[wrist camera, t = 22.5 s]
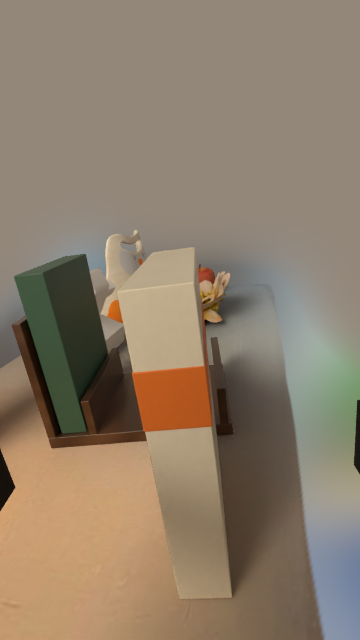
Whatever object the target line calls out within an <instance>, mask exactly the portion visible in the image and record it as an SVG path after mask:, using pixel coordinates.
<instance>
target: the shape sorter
mask: <svg viewBox="0 0 360 640" xmlns="http://www.w3.org/2000/svg"><path fill="white" fill-rule="evenodd" d="M120 243H125V244H133V243H136V247H137V252H136V253H133V252H130V251H128V250H125V249H123V248H121V246H120ZM105 258H106V269H107V271H106V279H107V281H108V280H110V281H111V282H112V283H114V284H115V285H116V288H115V290H114V291H113V293H112V294H111V295H109V296H108V297H106V299H105V302H104V306H103V309H102V312H101V314H102V315H104V316H106V317H109V318H111V319H113V320H115V321H118V322H120V323H122V324H123V320H122V315H121V310H120V305H119V300H118V295H117V291H118V290H119V289H120V288H121V287H122V286H123V285H124V283H125V282H126V281H127V280H128V279H129V278H130V277H131V276H132V275H133V274H134V273H135V271H136V270H137V269H138V268H139V267H140V266H141V265H142V264H143V263H144V262H145V261H146V259H147V258H146V255H145V252H144V249H143V245H142V243H141V240H140V237H139V233H138V231H137V230H135V231H134V235H132V236H125V235H122V234H115V235H112V236H110V237H109V238H108V240H107V243H106V251H105ZM124 331H125V330H124Z"/></svg>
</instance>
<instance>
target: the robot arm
mask: <svg viewBox="0 0 360 640" xmlns="http://www.w3.org/2000/svg"><path fill="white" fill-rule="evenodd" d="M354 465H355V467H356V469H357V470H358V472H359V473H360V400H357V418H356V437H355V456H354ZM14 489H15V485H14V483H13V480H12V478H11V475H10V472H9V470H8V467H7V465H6V462H5V460H4V457H3V455H2V452H1V449H0V511H1V509H2V508H3V506H4V505H5V503H6V501H7V500H8V498H9V497H10V495H11V494H12V492H13V490H14Z"/></svg>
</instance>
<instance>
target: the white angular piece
mask: <svg viewBox="0 0 360 640" xmlns="http://www.w3.org/2000/svg"><path fill="white" fill-rule="evenodd" d="M90 275H91V280H92V284H93V289H94V293H95V297H96V302H97V306H98V311H99V315H100V319H101V324H102V328H103V333H104V337H105V341H106V346H107V350H108V354H109V353H110V351H111V349H112V348H117V347H118V346H119V345H120V344H121V343H122V342H124V341H125V331H124V325H123V324H122V323H120V322H118V321H115V320H113V319H111V318H109V317H106V316H104V315H102V314H101V312H102V309H103V306H104V302H105V299H106V297H108V296H109V295H111V294H112V293H113V291H114V290H115V288H116V285H115V284H114V283H112V282H111V281H110V280H108V281H107V279H106V278H105V276H104V275H103V273H102V272H101V270H100V269H99V268H97V269H95V270H92V271H90Z"/></svg>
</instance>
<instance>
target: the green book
mask: <svg viewBox="0 0 360 640" xmlns="http://www.w3.org/2000/svg"><path fill="white" fill-rule="evenodd" d="M14 278H15V282H16V284H17V288H18V291H19V294H20V298H21V301H22V304H23V307H24V311H25V314H26V317H27V321H28V324H29V327H30V331H31V334H32V337H33V340H34V344H35V347H36V350H37V353H38V357H39V360H40V363H41V366H42V370H43V373H44V376H45V379H46V383H47V386H48V389H49V393H50V396H51V399H52V402H53V406H54V409H55V412H56V415H57V419H58V422H59V425H60V428H61V432H62V434H65V433H77V432H87V430H88V427H87V423H86V420H85V416H84V412H83V409H82V405H81V400H82V398H83V397H84V395H85V393H86V392H87V390H88V388H89V387H90V385H91V383H92V381H93V380H94V378H95V376H96V375H97V373H98V371H99V370H100V368H101V366H102V364H103V363H104V361H105V359H106V358H107V356H108V350H107V346H106V341H105V337H104V333H103V328H102V324H101V319H100V315H99V311H98V306H97V302H96V297H95V293H94V289H93V284H92V280H91V275H90V271H89V267H88V262H87V258H86V254H80V255H73V256H65V257H62V258H60V259H57V260H54V261H52V262H49V263H47V264H44V265H42V266H39V267H37V268H34V269H31V270H29V271H26V272H23V273H21V274H19V275H16V276H14Z"/></svg>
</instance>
